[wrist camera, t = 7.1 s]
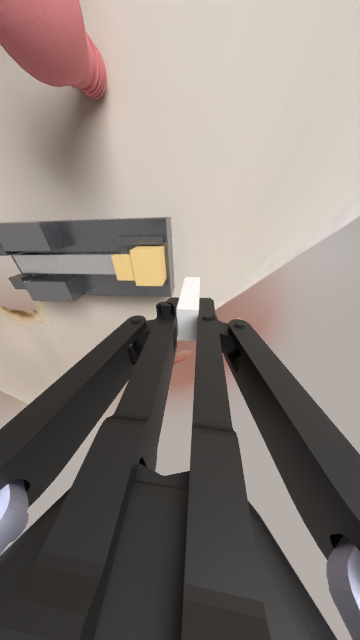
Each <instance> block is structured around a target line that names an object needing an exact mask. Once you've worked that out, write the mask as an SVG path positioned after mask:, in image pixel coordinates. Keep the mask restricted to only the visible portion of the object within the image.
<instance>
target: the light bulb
mask: <svg viewBox="0 0 360 640" xmlns="http://www.w3.org/2000/svg"><path fill="white" fill-rule="evenodd" d="M0 44H1V46H2V47H3V48H4V49H5V50H6V52H7V53H8V54H9V55H10V56H11V57H12V58H13V59H14V60H15V61H16V62H17V63H18V65H19V66H20V67H22V68H23V69H24V70H25V71H26V72H28V73H29V74H30V75H31V76H33V77H34V78H36V79H37V80H39V81H41V82H43V83H45V84H48V85H51V86H55V87H62V86H70V85H71V86H73V87H75V88H78V89H80V90H81V91H82V92H83V93H84V94H86V95H87V96H89V97H90V98H92V99H99V98H100V97H101V96H102V95H103V93H104V91H105V88H106V69H105V64H104V61H103V59H102V57H101V54H100V52H99V50H98V48H97V47H96V46H95V44H94V43H93V41H92V40H91V38H90V37H89V35H88V34H87V33H86V32H85V27H84V22H83V17H82V12H81V7H80V3H79V0H0Z"/></svg>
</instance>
